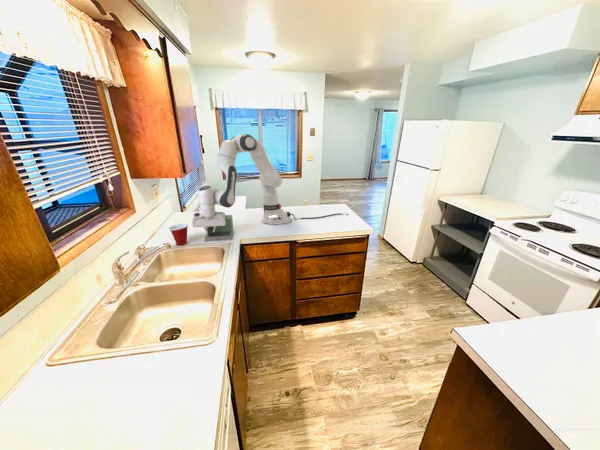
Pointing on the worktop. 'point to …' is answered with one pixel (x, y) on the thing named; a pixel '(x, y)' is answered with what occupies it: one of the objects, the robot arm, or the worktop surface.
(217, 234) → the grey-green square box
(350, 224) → the worktop surface
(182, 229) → the plastic cup
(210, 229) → the slider
